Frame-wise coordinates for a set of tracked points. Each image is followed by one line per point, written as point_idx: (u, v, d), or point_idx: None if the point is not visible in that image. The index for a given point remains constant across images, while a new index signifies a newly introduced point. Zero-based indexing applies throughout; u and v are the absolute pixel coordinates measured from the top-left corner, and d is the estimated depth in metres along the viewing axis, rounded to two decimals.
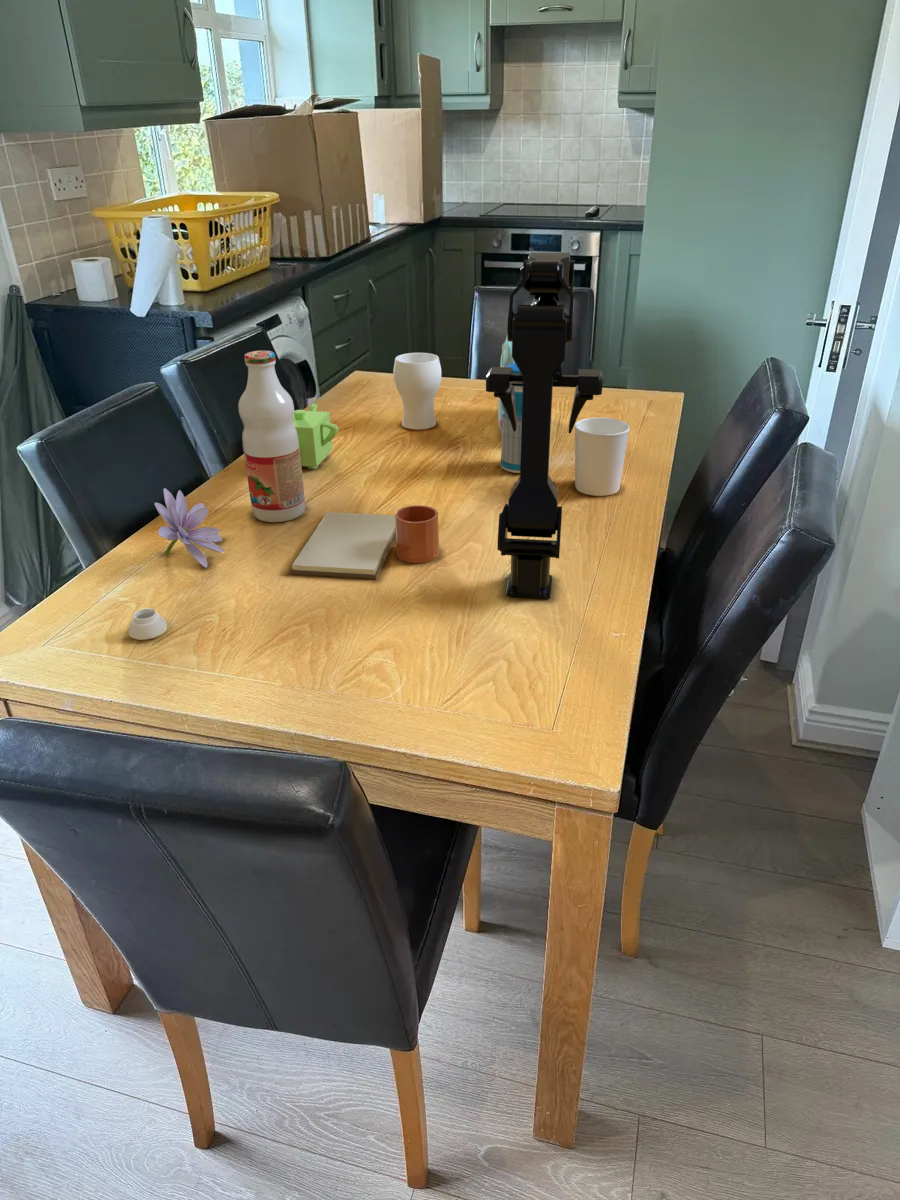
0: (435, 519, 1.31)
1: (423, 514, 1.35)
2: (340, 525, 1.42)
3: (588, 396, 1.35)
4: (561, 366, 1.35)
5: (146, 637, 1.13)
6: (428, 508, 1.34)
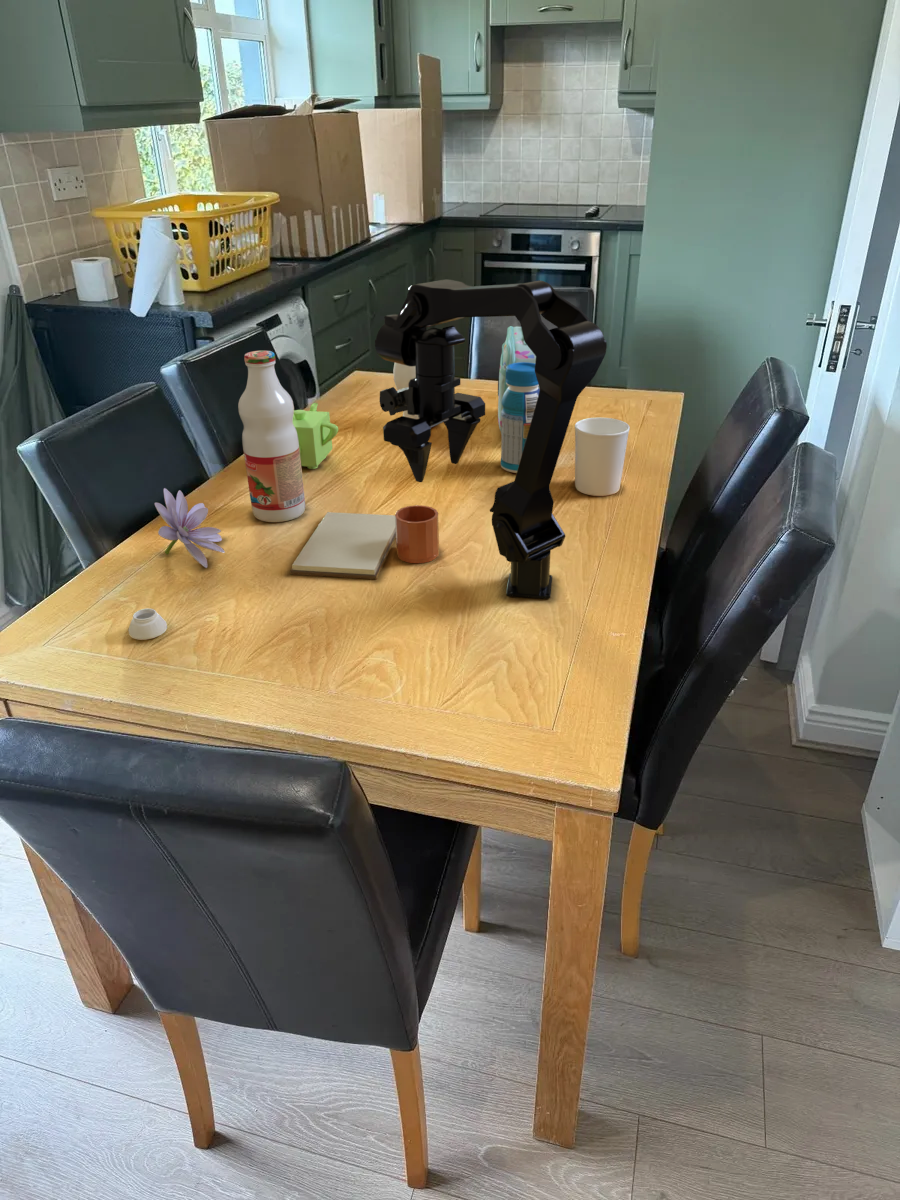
0: (435, 519, 1.31)
1: (423, 514, 1.35)
2: (340, 525, 1.42)
3: (476, 419, 1.32)
4: None
5: (146, 637, 1.13)
6: (428, 508, 1.34)
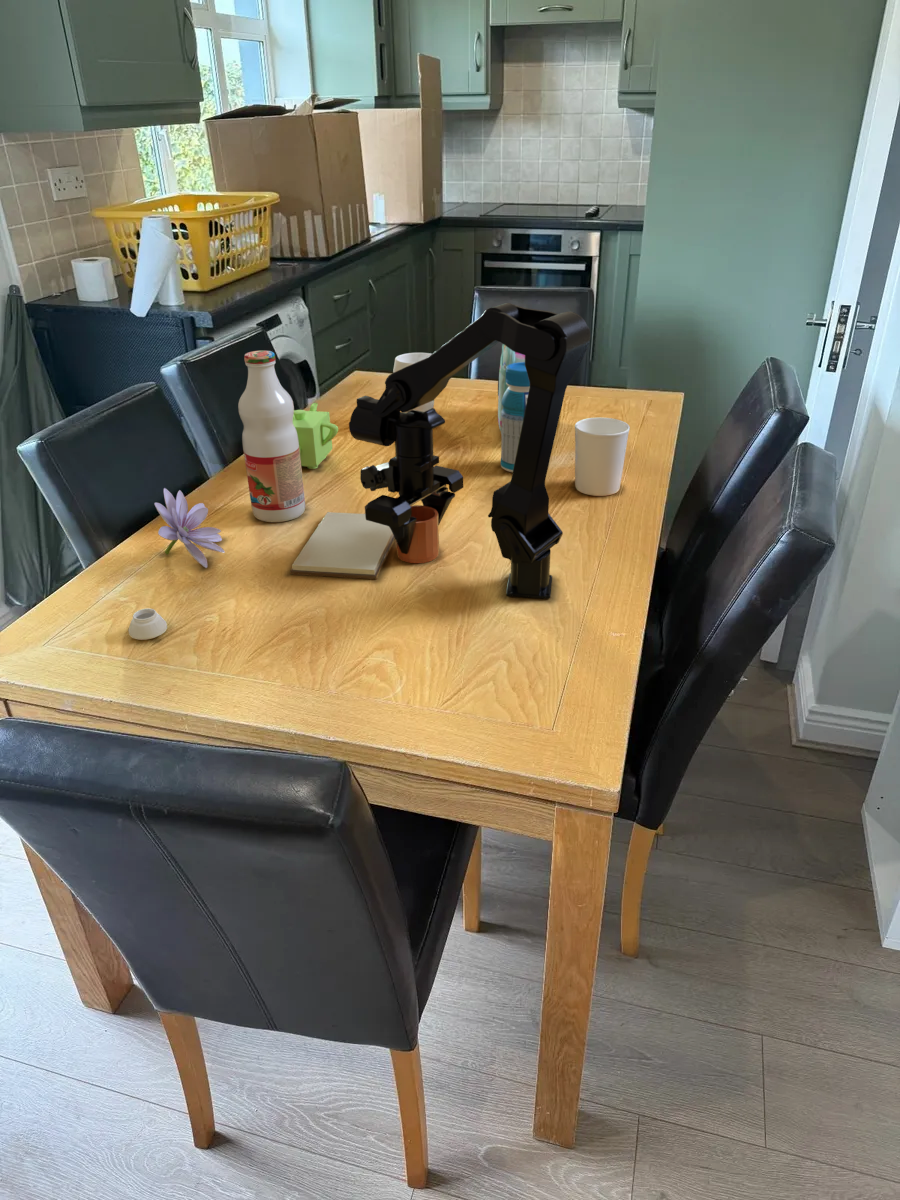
0: (435, 519, 1.31)
1: (423, 514, 1.35)
2: (340, 525, 1.42)
3: (451, 494, 1.34)
4: None
5: (146, 637, 1.13)
6: (428, 508, 1.34)
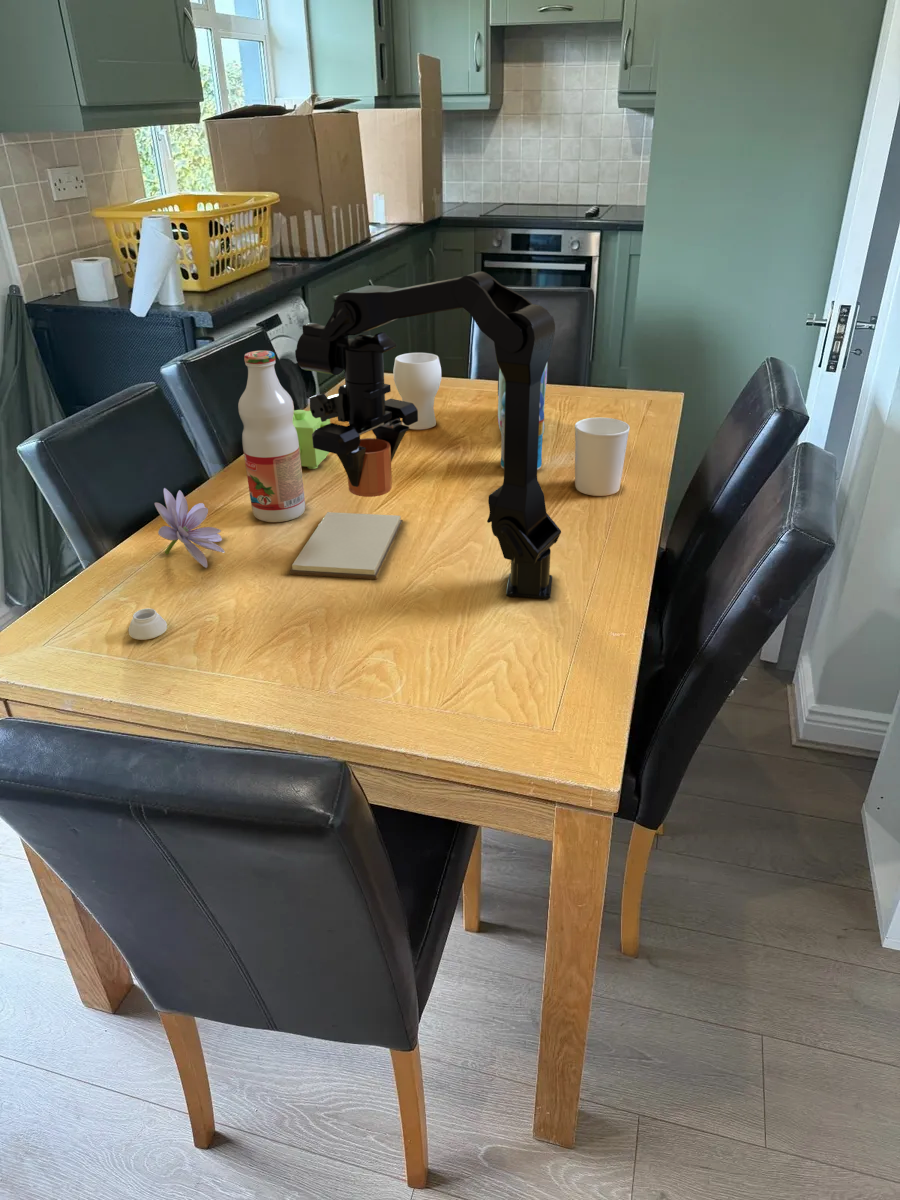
0: (387, 451, 1.27)
1: (376, 447, 1.31)
2: (340, 525, 1.42)
3: (405, 427, 1.31)
4: None
5: (146, 637, 1.13)
6: (381, 441, 1.30)
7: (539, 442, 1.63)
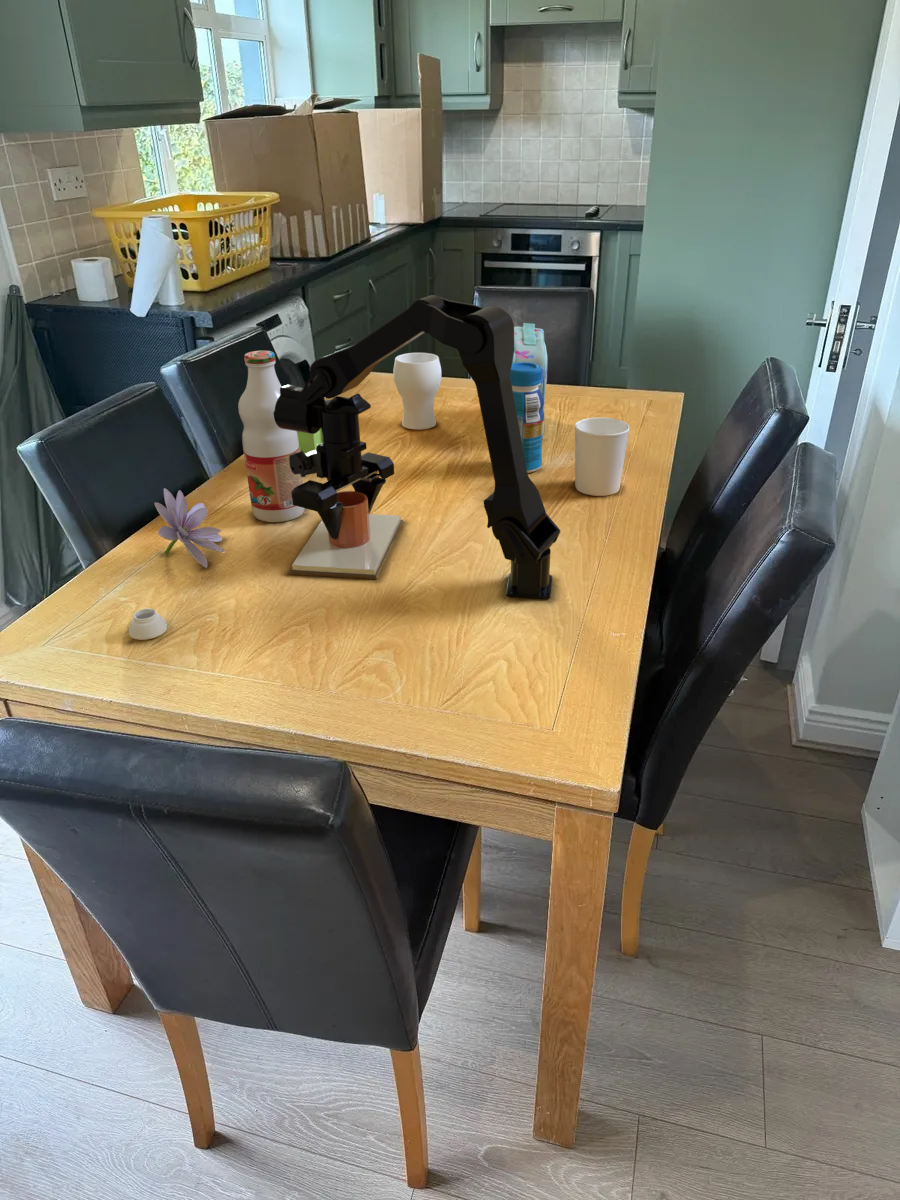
0: (364, 504, 1.32)
1: (354, 500, 1.37)
2: None
3: (382, 480, 1.36)
4: None
5: (146, 637, 1.13)
6: (359, 494, 1.36)
7: (539, 442, 1.63)
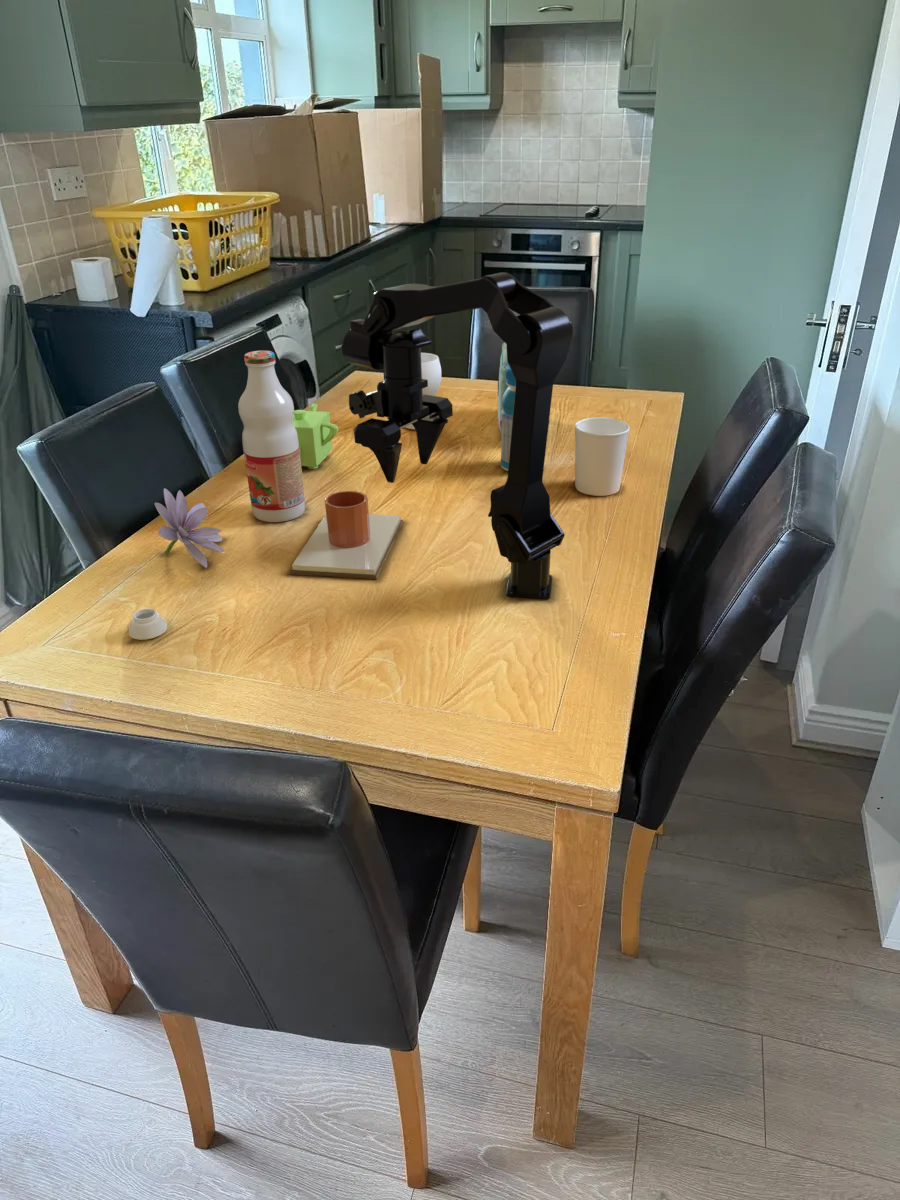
0: (364, 504, 1.32)
1: (354, 500, 1.37)
2: None
3: (444, 420, 1.34)
4: None
5: (146, 637, 1.13)
6: (359, 494, 1.36)
7: None
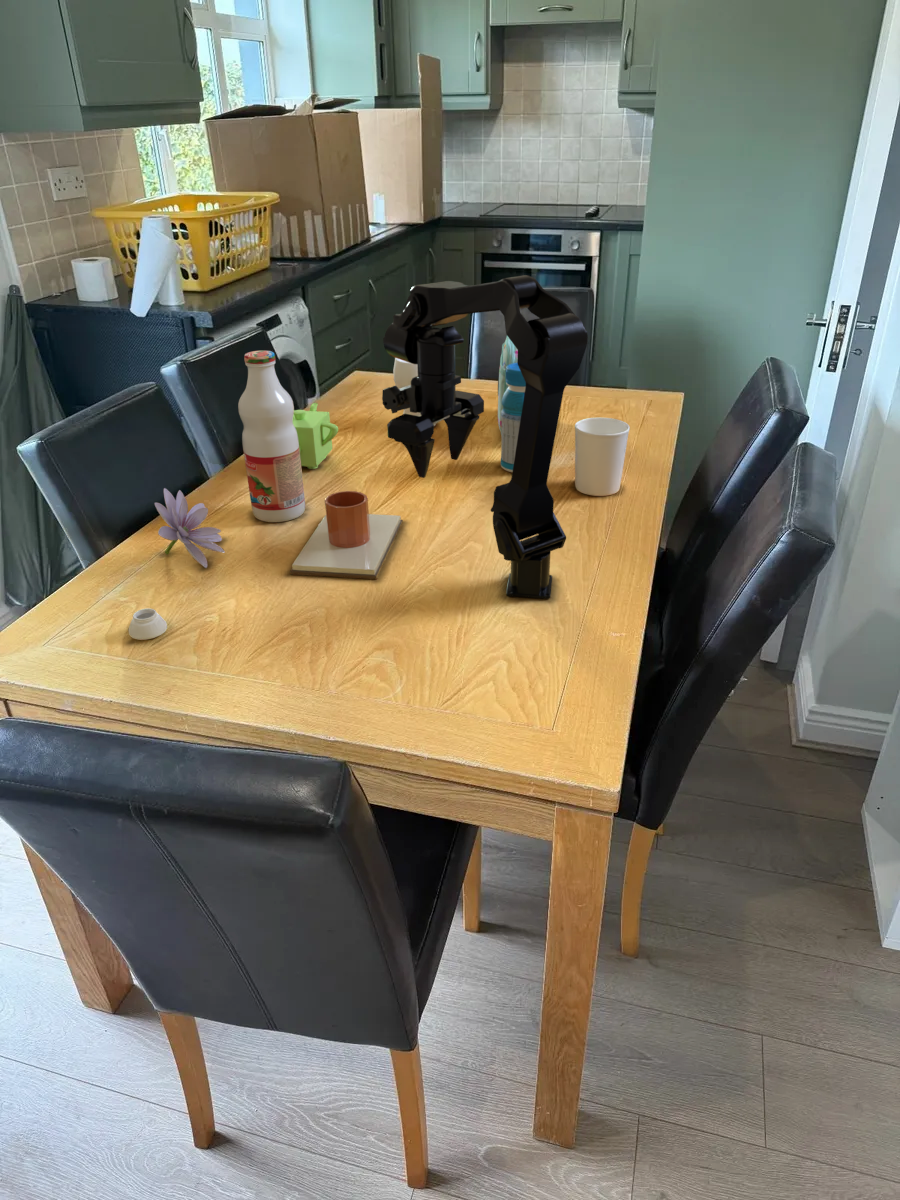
0: (364, 504, 1.32)
1: (354, 500, 1.37)
2: None
3: (475, 416, 1.36)
4: None
5: (146, 637, 1.13)
6: (359, 494, 1.36)
7: None
